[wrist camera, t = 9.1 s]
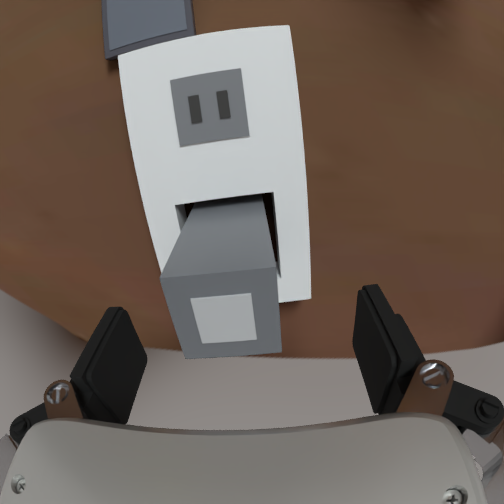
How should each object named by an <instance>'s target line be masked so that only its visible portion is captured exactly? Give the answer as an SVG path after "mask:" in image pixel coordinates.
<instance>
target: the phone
mask: <svg viewBox="0 0 504 504" xmlns="http://www.w3.org/2000/svg"><path fill="white" fill-rule="evenodd" d="M102 21H103V37H104V49H105V59H107V60H110V61H111V60H114V59H117V58H118V55H121V54H124V53H127V52H131V51H134V50H137V49H141V48H144V47H148V46H152V45H155V44H159V43H163V42H168V41H172V40H176V39H181V38H186V37H191V36H196V29H195V21H194V12H193V4H192V0H102Z"/></svg>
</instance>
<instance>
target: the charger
mask: <svg viewBox="0 0 504 504" xmlns="http://www.w3.org/2000/svg"><path fill="white" fill-rule="evenodd" d="M160 281H161V285H162V288H163V292H164V295H165V298H166V302H167V305H168V308H169V311H170V314H171V318H172V321H173V324H174V327H175V330H176V333H177V336H178V339H179V342H180V345H181V347H182V350H183V353H184V356H185V359H195V358H216V357H232V356H245V355H257V354H267V353H277V352H282V346H281V329H280V314H279V298H278V284H277V270H276V263H275V258H274V253H273V248H272V242H271V237H270V232H269V227H268V223H267V218H266V213H265V208H264V203H263V198H262V194H254V195H245V196H236V197H227V198H220V199H212V200H205V201H198V202H195V204H194V206H193V208H192V210H191V212H190V214H189V216H188V218H187V220H186V222H185V224H184V226H183V228H182V231H181V233H180V235H179V237H178V239H177V241H176V243H175V245H174V247H173V250H172V252H171V254H170V256H169V258H168V260H167V263H166V265H165V267H164V269H163V272H162V274H161V276H160Z"/></svg>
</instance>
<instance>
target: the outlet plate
mask: <svg viewBox="0 0 504 504" xmlns="http://www.w3.org/2000/svg"><path fill="white" fill-rule="evenodd" d="M118 63H119V72H120V80H121V88H122V95H123V102H124V108H125V115H126V121H127V127H128V133H129V138H130V144H131V149H132V154H133V159H134V164H135V169H136V174H137V178H138V183H139V188H140V192H141V196H142V201H143V205H144V209H145V213H146V217H147V221H148V225H149V229H150V233H151V237H152V241H153V244H154V248H155V252H156V255H157V259H158V262H159V266H160V269H161V273H162V272H163V269H164V267H165V265H166V263H167V260H168V258H169V256H170V254H171V252H172V250H173V247H174V245H175V243H176V241H177V239H178V237H179V235H180V233H181V231H182V228H183V226H184V224H185V222H186V220H187V216H186V211H185V206H184V204H185V203H192V202H198V201H205V200H212V199H220V198H227V197H235V196H243V195H251V194H259V193H268V192H271V195H272V204H273V214H274V225H275V235H276V246H277V257H278V262H275V263H276V270H277V284H278V298H279V303H281V302H289V301H297V300H304V299H311V272H310V241H309V219H308V201H307V185H306V170H305V157H304V145H303V134H302V123H301V113H300V104H299V95H298V86H297V78H296V70H295V62H294V55H293V47H292V40H291V34H290V27H289V25H285V26H266V27H254V28H243V29H235V30H227V31H220V32H213V33H207V34H201V35H196V36H191V37H186V38H181V39H176V40H172V41H168V42H163V43H159V44H155V45H152V46H148V47H144V48H141V49H137V50H134V51H131V52H127V53H124V54H121V55H118Z"/></svg>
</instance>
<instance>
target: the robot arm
mask: <svg viewBox="0 0 504 504" xmlns="http://www.w3.org/2000/svg"><path fill="white" fill-rule="evenodd" d="M353 348H354V352H355V355H356V358H357V361H358V364H359V367H360V370H361V373H362V376H363V379H364V382H365V386H366V389H367V392H368V395H369V398H370V402H371V405H372V409H373V412H374V413H375V414H376V413H378V414H379V415H375V416H368V417H362V418H356V419H350V420H344V421H337V422H331V423H322V424H315V425H306V426H297V427H286V428H273V429H257V430H223V431H222V430H183V429H166V428H153V427H143V426H134V425H125V424H126V423H127V422H128V419H129V416H130V412H131V409H132V406H133V402H134V400H135V397H136V394H137V390H138V388H139V385H140V382H141V379H142V375H143V373H144V370H145V367H146V364H147V355H146V353H145V351H144V348H143V346H142V344H141V342H140V340H139V337H138V335H137V333H136V331H135V329H134V326H133V324H132V322H131V319H130V317H129V315H128V312H127V311H126V310H124V309H123V308H122V307H109V308H108V309H107V310H106V312H105V314H104V315H103V317H102V319H101V320H100V322H99V324H98V325H97V327H96V329H95V331H94V332H93V334H92V336H91V338H90V339H89V341H88V343H87V345H86V347H85V349H84V350H83V352H82V354H81V356H80V357H79V359H78V361H77V363H76V365H75V367H74V369H73V371H72V372H71V375H70V377H71V380H70V382H68V381H66V380H58V381H55V382H53V383H52V384H50V386H49V387H47V389H46V391H45V393H44V403H42V404H40V405H39V406H37V407H35V408H33V409H31V410H29V411H27V412H26V413H24V414H22V415H20V416H18V417H17V418H16V419H15V420H14V421H13V422H12V424H11V426H10V435H8V434H6V435H5V436H4V437H2V438H1V439H0V504H504V407H503V405H502V403H501V401H500V400H499V399H498V398H497V397H495V396H493V395H490V394H488V393H485V392H482V391H480V390H477V389H474V388H472V387H469V386H467V385H464V384H462V383H459V382H456V381H454V380H453V379H454V375H453V371H452V370H451V368H450V367H449V366H448V365H447V364H446V363H444V362H442V361H439V360H427V361H426V360H425V358H424V356H423V354H422V352H421V350H420V349H419V347H418V345H417V343H416V341H415V339H414V337H413V336H412V334H411V332H410V330H409V328H408V326H407V325H406V323H405V321H404V319H403V318H402V316H401V315H400V314H394V312H393V310H392V308H391V306H390V305H389V303H388V301H387V299H386V298H385V296H384V294H383V292H382V291H381V289H380V287H379V286H378V284H373V285H366V286H363V287H362V290H359V291H358V296H357V306H356V316H355V325H354V333H353ZM472 455H473V456H474V457H476V458H475V459H473V456H472ZM474 460H475V461H476V462H477V463H478V464H479V465H480V466H481V467H482V470H483V478H482V480H481V479H480V476H479V473H478V470H477V467H476V464H475V461H474Z"/></svg>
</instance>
